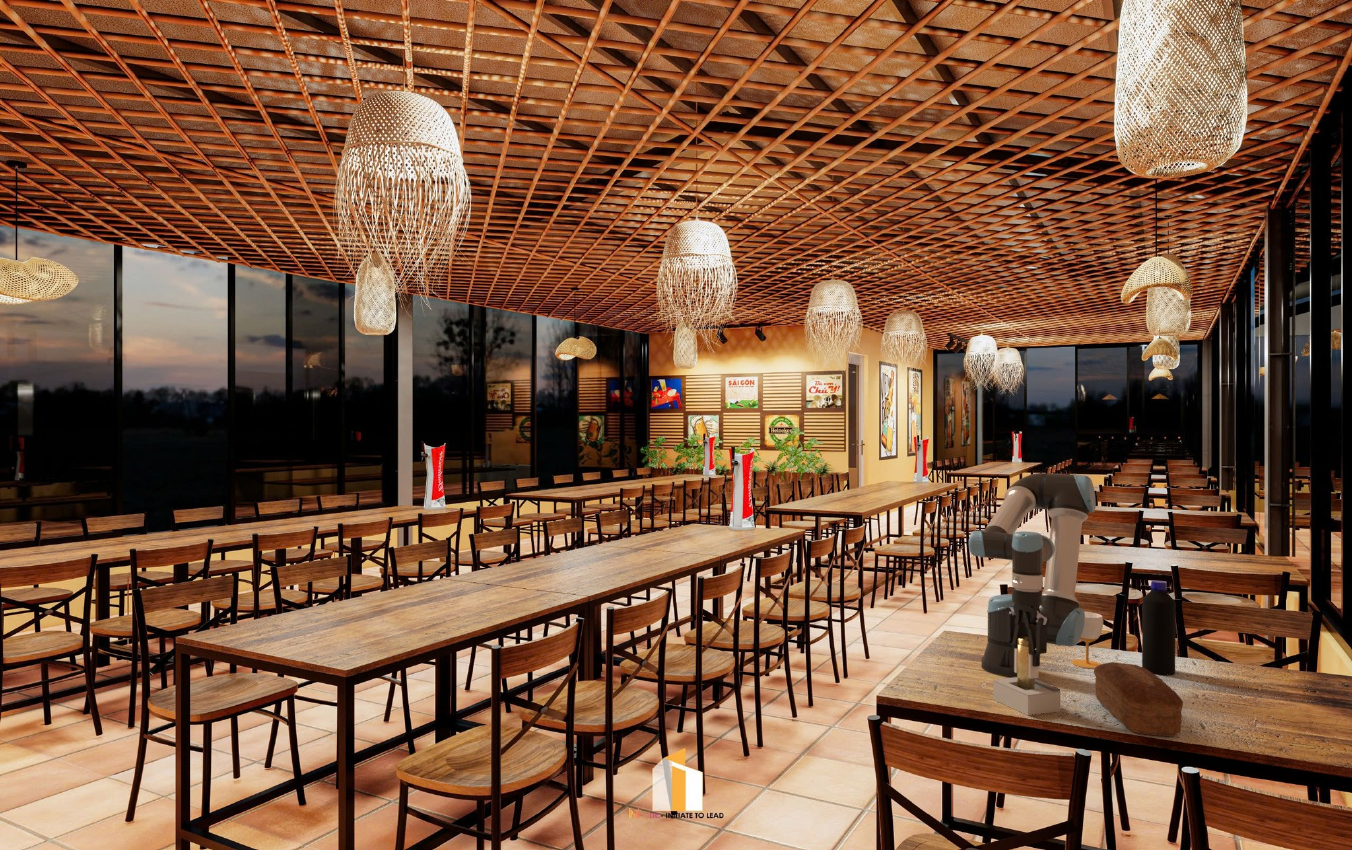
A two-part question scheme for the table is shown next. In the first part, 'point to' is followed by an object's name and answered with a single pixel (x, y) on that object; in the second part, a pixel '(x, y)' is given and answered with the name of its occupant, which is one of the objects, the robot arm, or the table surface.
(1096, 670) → the bread
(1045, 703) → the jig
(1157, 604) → the bottle
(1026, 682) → the golden cylinder
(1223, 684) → the table surface
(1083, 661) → the cup
